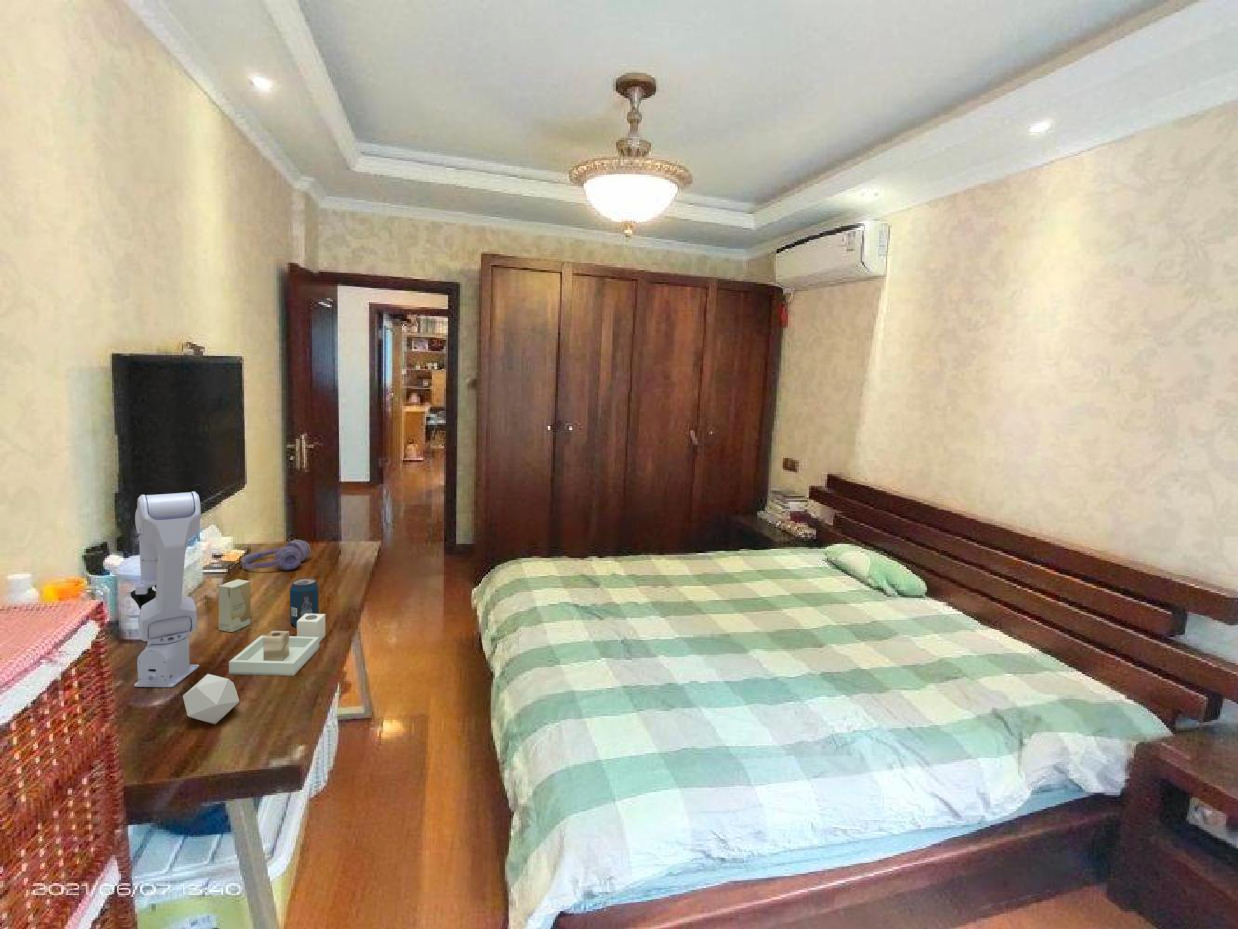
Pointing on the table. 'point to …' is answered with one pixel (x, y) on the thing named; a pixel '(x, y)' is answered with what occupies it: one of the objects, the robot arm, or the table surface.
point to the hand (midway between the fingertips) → (157, 612)
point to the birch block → (276, 646)
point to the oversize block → (311, 626)
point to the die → (210, 698)
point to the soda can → (303, 598)
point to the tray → (254, 663)
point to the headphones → (280, 556)
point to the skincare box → (234, 605)
